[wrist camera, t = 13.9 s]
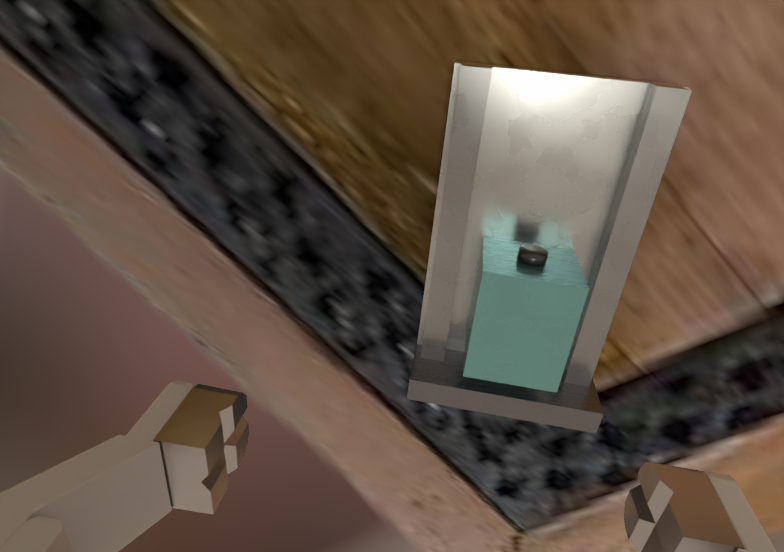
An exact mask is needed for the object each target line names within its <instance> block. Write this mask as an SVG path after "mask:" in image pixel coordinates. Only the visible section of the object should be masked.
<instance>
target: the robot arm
mask: <svg viewBox="0 0 784 552" xmlns="http://www.w3.org/2000/svg"><path fill="white" fill-rule="evenodd" d="M246 408H247V399H246V395H245V394H244V393H241V392H236V391H231V390H226V389H221V388H216V387H211V386H206V385H201V384H193V383H188V382H183V381H179V380H175V381H174V382H171V383H170V384H168V386H167V387H166V388H165V389H164V391H162V393H161V394H160V395H159V396H158V398H157V399H156V400H155V401H154V402H153V404H152V405H151V406H150V407H149V409H148V410H147V411H146V412H145V413H144V415H143V416H142V417H141V418H140V419H139V421H138V422H137V423H136V424H135V425H134V427H133V428H132V429H131V430H130V431H129V433H128V434H127V435H126V436H121V435H118V436H116V437H114V438H111V439H110V440H107V441H105V442H104V443H102V444H99V445H97V446H95V447H93V448H91V449H89V450H87V451H85V452H83V453H81V454H79V455H77V456H75V457H73V458H71V459H69V460H67V461H65V462H63V463H61V464H59V465H57V466H55V467H53V468H50V469H48V470H47V471H44V472H43V473H40V474H38V475H37V476H34V477H32V478H30V479H28V480H26V481H24V482H22V483H20V484H18V485H16V486H14V487H12V488H10V489H8V490H6V491H4V492H2V493H0V552H118V551H120V550H121V549H122V548H123V547H125V546H126V545H127V544H129V543H130V542H131V541H133V540H134V539H135V538H136V537H138V536H139V535H140V534H142V533H143V532H144V531H146V530H147V529H148V528H149V527H151V526H152V525H153V524H155V523H156V522H157V521H158V520H160V519H161V518H162V517H164V516H165V515H166V514H167V513H169V512H170V511H171V510H172V508H177V509H183V510H190V511H196V512H202V513H208V514H214V512H215V510H216V508H217V507H218V505H219V503H220V501H221V499H222V497H223V495H224V493H225V491H226V489H227V487H228V477H227V474H228V473H230V472H232V471H233V470H235V469H236V468H238V466H239V464H240V462H241V460H242V458H243V456H244V452H245V449H246V445H247V442H248V434H249V425H248V422H247V420H246V419H245V418H244V417H243V414H244V412H245V410H246ZM637 476H638V478H639V481H640V484H641V485H639V486H637V487H635V488H633V489H631V490H630V491H629V494H628V496H627V498H626V501H625V507H624V523H625V529H626V533H627V536H628V540H629V541H630V542H631V543H632V544H633V545H634V547H635V548H636V549H637V550H638V551H639V552H776V550H775V548H774V547H773V545H772V543H771V541H770V540H769V538H768V536H767V535H766V533H765V531H764V529H763V528H762V526H761V524H760V522H759V521H758V519H757V517H756V515H755V514H754V512H753V510H752V509H751V507H750V505H749V503H748V502H747V500H746V498H745V496H744V495H743V493H742V491H741V489H740V488H739V486H738V484H737V483H736V481H735V480H734V479H733V478H732V477H730V476H729V475H724V474H718V473H712V472H705V471H698V470H693V469H687V468H680V467H674V466H668V465H662V464H656V463H650V462H647V463H645V464H644V465H643V466H642V467H641V469H640V471H639V473H638V475H637Z"/></svg>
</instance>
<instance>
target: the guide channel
mask: <svg viewBox="0 0 784 552" xmlns="http://www.w3.org/2000/svg"><path fill="white" fill-rule="evenodd" d="M691 92H692V90H691V89H689V87H686V86H682V85H679V84H675V83H665V82H656V81H646V80H636V79H627V78H617V77H608V76H598V75H589V74H579V73H570V72H560V71H551V70H541V69H532V68H522V67H512V66H503V65H493V64H484V63H474V62H465V61H456V62H455V64H454V72H453V79H452V87H451V94H450V102H449V109H448V117H447V124H446V132H445V139H444V147H443V154H442V162H441V169H440V177H439V184H438V192H437V199H436V207H435V214H434V222H433V229H432V237H431V244H430V252H429V259H428V267H427V274H426V282H425V289H424V297H423V304H422V312H421V319H420V327H419V334H418V342H417V347H416V352H415V356H414V361H413V366H412V370H411V375H410V380H409V387H408V395H407V399H411V400H417V401H422V402H427V403H433V404H438V405H444V406H449V407H455V408H460V409H466V410H471V411H477V412H482V413H488V414H493V415H499V416H504V417H510V418H515V419H520V420H526V421H531V422H537V423H542V424H548V425H553V426H559V427H564V428H570V429H575V430H581V431H586V432H592V433H596V432H597V430H598V427H599V424H600V422H601V419H602V416H603V411H602V408H601V405H600V401H599V398H598V395H597V392H596V388H595V385H594V382H593V378H592V377H593V374H594V371H595V368H596V365H597V362H598V359H599V357H600V354H601V351H602V348H603V345H604V342H605V339H606V336H607V334H608V331H609V328H610V325H611V322H612V319H613V316H614V313H615V311H616V308H617V305H618V302H619V299H620V296H621V293H622V290H623V288H624V285H625V282H626V279H627V276H628V273H629V270H630V267H631V264H632V262H633V259H634V256H635V253H636V250H637V247H638V244H639V241H640V239H641V236H642V233H643V230H644V227H645V224H646V221H647V218H648V216H649V213H650V210H651V207H652V204H653V201H654V198H655V195H656V193H657V190H658V187H659V184H660V181H661V178H662V175H663V172H664V170H665V167H666V164H667V161H668V158H669V155H670V152H671V149H672V147H673V144H674V141H675V138H676V135H677V132H678V129H679V126H680V124H681V121H682V118H683V115H684V112H685V109H686V106H687V103H688V101H689V98H690V95H691ZM483 237H488V238H495V239H502V240H509V241H516V242H523V243H530V244H537V245H544V246H551V247H558V248H565V249H573V250H574V251H575V253H576V256H577V259H578V261H579V264H580V266H581V269H582V271H583V274H584V276H585V279H586V281H587V284H588V286H589V291H588V294H587V297H586V300H585V304H584V307H583V310H582V313H581V316H580V320H579V323H578V326H577V329H576V333H575V336H574V339H573V342H572V346H571V349H570V352H569V355H568V358H567V362H566V365H565V368H564V371H563V375H562V378H561V381H560V384H559V388H558V391H557V393H556V392H550V391H544V390H539V389H533V388H527V387H522V386H516V385H510V384H504V383H499V382H493V381H487V380H481V379H476V378H470V377H464V376H463V366H464V351H465V335H466V327H467V322H468V316H469V311H470V305H471V300H472V294H473V289H474V284H475V278H476V273H477V267H478V262H479V257H480V251H481V246H482V240H483Z"/></svg>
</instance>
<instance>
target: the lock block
mask: <svg viewBox="0 0 784 552" xmlns="http://www.w3.org/2000/svg"><path fill="white" fill-rule="evenodd" d="M588 291H589V286H588V284H587V281H586V279H585V276H584V274H583V271H582V269H581V266H580V264H579V261H578V259H577V256H576V253H575V251H574V250H573V249H565V248H558V247H551V246H544V245H537V244H530V243H523V242H516V241H509V240H502V239H495V238H488V237H483V240H482V246H481V251H480V257H479V262H478V267H477V273H476V278H475V284H474V289H473V294H472V300H471V305H470V311H469V316H468V322H467V327H466V335H465V351H464V366H463V376H464V377H470V378H476V379H481V380H487V381H493V382H499V383H504V384H510V385H516V386H522V387H527V388H533V389H539V390H544V391H550V392H556V393H557V391H558V388H559V384H560V381H561V378H562V375H563V371H564V368H565V365H566V362H567V358H568V355H569V352H570V349H571V346H572V342H573V339H574V336H575V333H576V329H577V326H578V323H579V320H580V316H581V313H582V310H583V307H584V304H585V300H586V297H587V294H588Z"/></svg>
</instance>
